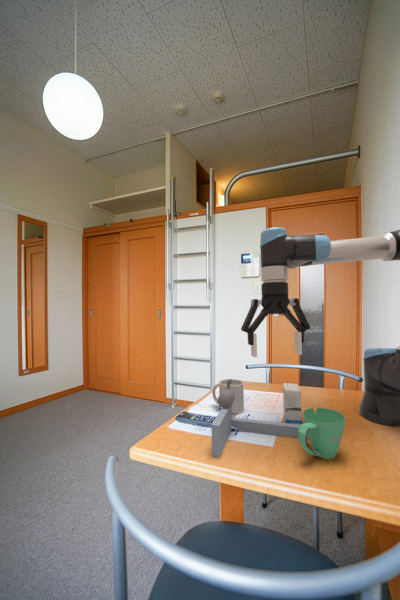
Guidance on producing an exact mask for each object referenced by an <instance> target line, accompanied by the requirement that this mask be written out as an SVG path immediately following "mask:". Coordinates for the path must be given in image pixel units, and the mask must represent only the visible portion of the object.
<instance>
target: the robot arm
mask: <svg viewBox="0 0 400 600" xmlns="http://www.w3.org/2000/svg"><path fill="white" fill-rule="evenodd" d="M259 248H260V273H261V274H260V275H261V278H260V279H261V282H262V284H261V299H257V298H254V299H253V298H252V299H251V302H250V303H251V304H250V308H249V310H248V311H247V314H246V317H245V319H244V321H243V323H242V325H241V328H240V330H241V331H242V332H244V333H247V345H249V346H250V351H251V353H250V354H251V357H253V358H258V343H257V342H258V341H257V339H258V338H257V337H258V336H257V333H255V332H256V330H257V329H258V328H259V326H260V325H262V322H263V321H264V320H265V319H266V317H267V316H268V315H283V316H285V318H286V319H287V320H288V322H289V323H290V324H291V325H292V326H293V327H294V328H295V330H296V331H294V332H293V333H294V336H293V337H294V354H296V355H299V356H301V355H303V348H302V343H305V333H306V332H307V331H308V330H310V329H311V325H310V324H309V322H308V319H307V317H306V315H305V313H304V311H303V309H302V307H301V305H300V299H299V298H295V297H294V298H289V283H288V282H287V281H288V280H289V274H288V273H289V269H296V268H298V267H308V266H317V265H329V264H337V263H347V262H358V261H369V260H381V261H383V262H389V261H390V262H391V261H400V229H398V230H397V229H396V230H394V231H387V232H383V233H381V234H380V235H379V236H377V235H376V236H368V237H367V236H366V237H357V238H347V239H337V240H330V237H329V236H328V235H325V234H316V233H315V234H307V235H290V234H288V233H287V229H286V228H285V227H280V226H279V227H278V226H274V227H268V228H265V229H263V230H262V232H261V233H260V241H259ZM289 305H290V306H291V308H292V310H293V311H294V314H295V316H296V317H295V316H294V315H293V313H292V311H291V310H290V309H289V308H288V307H289ZM260 306H262V309H261V310H260V313H259V314H258V315H257V317H256V318H255V315H256V313H257V310H258V308H259V307H260ZM254 318H255V319H254ZM253 319H254V320H253ZM252 321H253V322H252ZM363 371H364V372H363V374H364V376H363V377H364V393H363V395H362V398H361V400H360V404H359V414H360V415H361V417H363V418H365V419H366V420H369V421H371V422H374V423H377V424H381V425H384V426H385V425H387V426H392V427H400V345H399V346H397V347H396V348H387V347H385V348H380V347H379V348H378V347H377V348H366V349H364V352H363Z"/></svg>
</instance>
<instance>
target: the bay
mask: <svg viewBox="0 0 400 600" xmlns="http://www.w3.org/2000/svg"><path fill="white" fill-rule="evenodd" d="M227 379H228V380H227V389H225V390H223V391H222V393H221V394H220V396H218V397H217V399H218V403H217V404H218V406H219V408H220V407H222V409H221V410H220V409H219V411H218V414H217V416H216V417H215V419H213V420H214V421H213V422H212V424H211V453H212V454H211V456H212V457H214V458H221V457H222V454H223V451H224V449H225V446H226V444H227V442H228V439H229V437H230V434H231V433H232V430H231V426H236V427H237V430H236V431H238V432H246V433H255V434H264V435H271V436H272V435H273V436H279V437H280V436H281V437H288V438H289V437H290V438H295V439H296V438H297V439H298V429H299V426H300V425H298V424H289V423H285V422H278V421H270V420H269V421H268V420H262V419H261V420H259V419H250V418H249V419H248V418H240V417H233V414H232V403H233V402H234V400H235V393H234V392H233V391H232V390H231V389H230V384H231V383H232V379H233V378H227ZM306 436H307V440H310V439H309V436H308V433H307V435H306Z"/></svg>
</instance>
